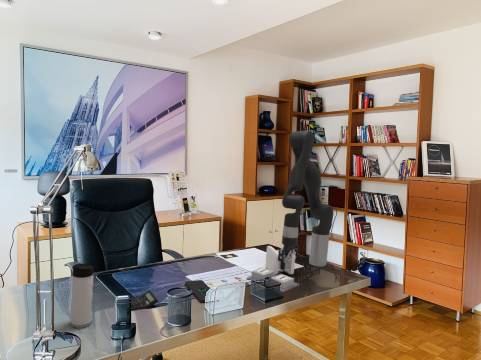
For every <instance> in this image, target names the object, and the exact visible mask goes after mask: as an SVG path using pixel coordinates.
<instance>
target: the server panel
mask: <svg viewBox="0 0 481 360" xmlns="http://www.w3.org/2000/svg"><path fill="white" fill-rule="evenodd" d="M266 277H271V279H273V280H276V281H278V282H279V283H281V285H280V291H281V292H282V294H284V293H286V292H288V291H290V290H293V289H294V288H296V287H298V286H299V285H300V284H299V283H297V282H295V277H290V276H289V275H285V274H283V273H279V274H277V275H274V271H271V270H268V269H267V268H264V267H260V268H256V269H254V270H252V271H251V275H250V276H248V277H246V280H247V279H248V280H247V281H250V280H251V281H250V282H253V281H256V280H260V279H264V278H266ZM281 292H280V293H281Z"/></svg>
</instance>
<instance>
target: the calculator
mask: <svg viewBox="0 0 481 360" xmlns="http://www.w3.org/2000/svg"><path fill="white" fill-rule="evenodd" d="M129 298H130V300H131V311H130V312H133V311H140V310H146V309H149V308H150V307H152V306H154V305H155V304H156V303H158V302H159V300H158V299H157V297H156V296H155V295H154V293H153V292H152V290H148V291H146V292H145V293H143V294H142V295H140V296H134V297H129Z"/></svg>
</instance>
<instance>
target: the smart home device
mask: <svg viewBox="0 0 481 360" xmlns="http://www.w3.org/2000/svg"><path fill="white" fill-rule="evenodd" d="M184 286H185V287H186V288H187V289H188V290H189V291H190V290H192V291H193V294H192V295H193V296H194V297H195V299H196V300H197V301H198V302H199V303H200V304H206V303H205V296H206V292H207V291H208V290H209V289H211V288H210V286H208V285H207V283H205V281H204V280H203V279H197V280H196V279H195V280H186V281H185V282H184Z"/></svg>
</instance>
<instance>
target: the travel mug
mask: <svg viewBox="0 0 481 360" xmlns="http://www.w3.org/2000/svg"><path fill="white" fill-rule="evenodd" d="M71 280H72V281H71V312H70V315H71V316H70V325H71V326H72V327H73V328H76V329H83V328H86V327H88V326H89V327H90V325H91V324H92V322H93V320H92V319H93V299H94V298H93V295H94V266H93V265H90V264H88V263H76V264H73V265H72V279H71Z"/></svg>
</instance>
